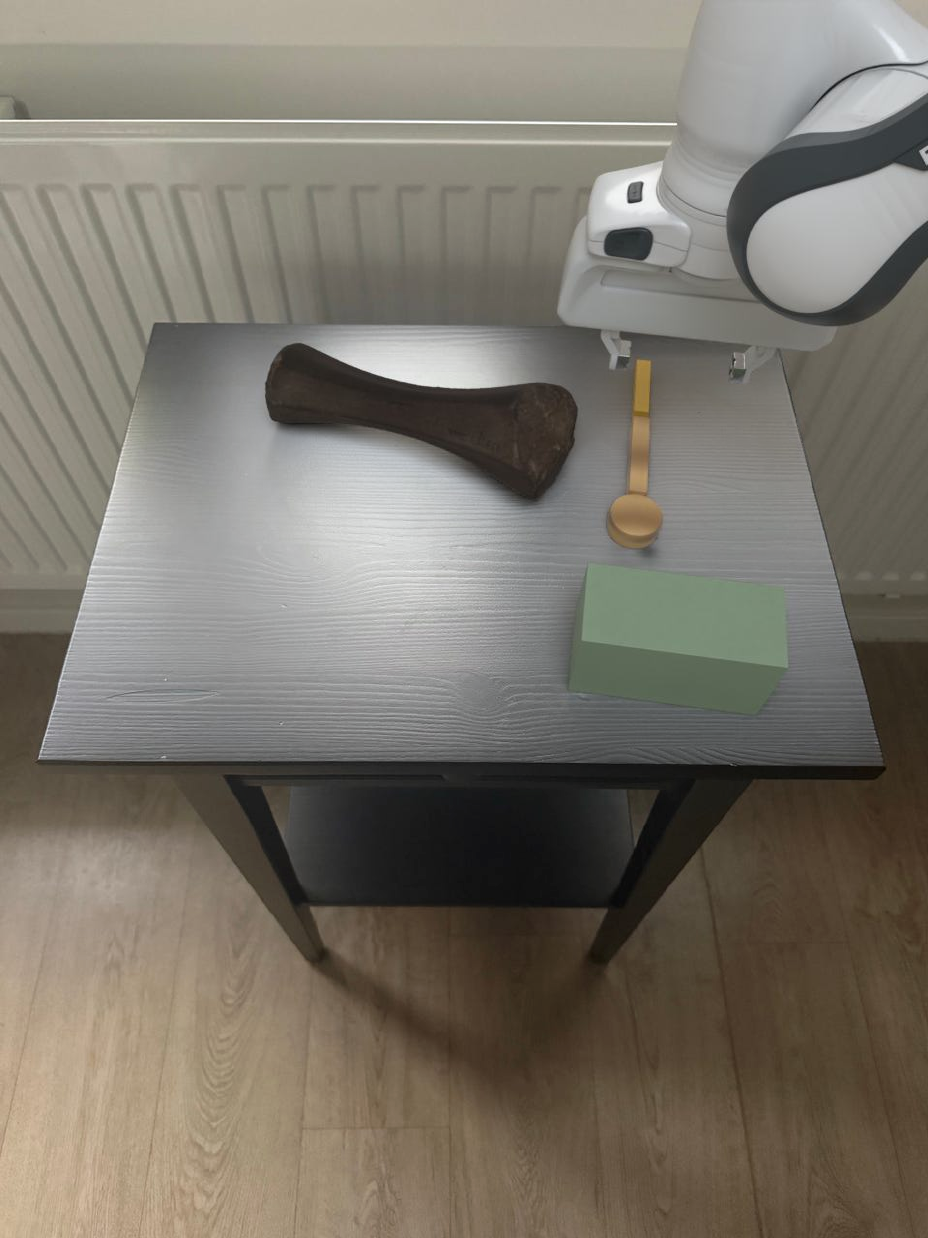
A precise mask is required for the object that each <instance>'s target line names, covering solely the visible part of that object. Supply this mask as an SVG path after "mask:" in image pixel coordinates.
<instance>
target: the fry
mask: <svg viewBox="0 0 928 1238" xmlns="http://www.w3.org/2000/svg"><path fill="white" fill-rule="evenodd" d="M651 372H652V361H651V360H647V359H646V360H645V359H636V363H635V367H634V376H633V391H632V408H631V409H632V410H631V420H632V419H633V416H639V417H647V418H649V413H650V398H651V397H650V394H651V377H652V376H651Z"/></svg>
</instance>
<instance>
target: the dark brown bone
mask: <svg viewBox="0 0 928 1238" xmlns="http://www.w3.org/2000/svg"><path fill="white" fill-rule="evenodd" d="M264 392H265V393H264V398H265V404H266V409H267V412H268V416H269V418H270V420H271V421H273V422H276V423H281V424H334V425H335V424H336V425H348V426H356V427H362V428H363V427H364V428H370V429H376V430H380V431H384V432H385V431H386V432H389V433H393V434H398V435H401V436H403V437H407V438H411V439H414V440H417V441H420V442H423V443H426V444H429V445H431V446H434V447H437V448H439V449H441V450H443V451H446V452H448V453H450V454H452V455H454V456H457V457H458V458H460V459H462V460H464V461H466V462H469V463H470V464H471V465H473V466H475V467H477V468H478V469H480V470H481V471H483V472H485V473H486V474H487V475H490V476H491V477H493V478H494V479H496V480H497V481H499V482H500V483H501V484H504V485H505V486H506V487H508V488H510V489H512V490H513V491H515V492H516V493H518V494H519V495H521V496H523V497H525V498H527V499H530V500H534V501H535V500H539V499H540V498H541V497H542V496H544V494H545V492H546V491H547V490H548V489H549V488H551V486H552V485H553V484H554V483H555V482H556V479H557V478H558V476H559V475H560V472H561V470H562V468H563V466H564V464H565V462H566V461H567V459H568V458H569V454H570V453H571V451H572V449H573V448H574V446H575V442H576V439H575V430H576V427H577V426H576V425H577V419H578V416H579V413H578V412H579V408H578V405H577V402H576V400H575V398H574V396H573V394H572V393H571V392H570V391H569V390H568V389H567V388H566V387H564V386H562V385H558V384H555V383H549V382H539V381H538V382H537V381H536V382H527V383H520V384H511V385H502V386H491V387H477V388H475V387H474V388H462V387H461V388H459V387H445V386H444V387H442V386H430V385H422V384H421V385H420V384H416V383H410V382H406V381H401V380H396V379H392V378H389V377H386V376H382V375H378V374H376V373H372V372H369V371H367V370H363V369H361V368H358V367H356V366H353V365H352V364H348V363H347V362H344V361H342V360H339V359H337V358H335V357H332V356H331V355H329V354H327V353H325V352H322V351H321V350H318V349H317V348H314V347H312V346H311V345H308V344H305V343H302V342H295V343H290V344H286V345H285V346H283V347H282V348H281V349H280V350H279V351H278V352H277V354H275V357H274V358H273V360H272V361H271V364H270V367H269V370H268V372H267V376H266V380H265V383H264Z"/></svg>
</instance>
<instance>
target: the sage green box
mask: <svg viewBox="0 0 928 1238" xmlns="http://www.w3.org/2000/svg"><path fill="white" fill-rule="evenodd" d="M573 617H574V618H573V627H572V628H573V629H572V639H571V649H570V650H571V652H570V660H569V661H570V662H569V674H568V683H567V684H568V685H567V691H570V692H576V693H577V692H578V693H586V694H593V695H598V696H599V695H600V696H608V697H615V698H622V699H629V700H637V701H645V702H651V703H659V704H668V705H674V706H682V707H688V708H696V709H704V710H709V711H710V710H711V711H718V712H725V713H734V714H741V715H747V716H748V715H749V716H757V715H758V714H759V712H760V711H761V709H762V708H763V706H764V705H765V704H766V702H767V701H768V699H769V698H770V696H771V695H772V693H773V691H774V690H775V688H776V687H777V686H778V684H779V683H780V681H781V680H782V678H783V677H784V675H785V674H786V672H787V671H788V669H789V668H790V667H789V664H790V663H789V649H788V647H789V646H788V628H787V627H788V625H787V608H786V588H785V587H781V586H775V585H774V586H773V585H767V584H766V585H765V584H759V583H750V582H743V581H736V580H727V579H721V578H720V579H719V578H711V577H704V576H696V575H688V574H680V573H673V572H665V571H657V570H651V569H642V568H633V567H625V566H619V565H610V564H603V563H595V562H587V564H586V568H585V572H584V576H583V580H582V584H581V588H580V592H579V597H578V599H577V605H576V609H575V613H574V616H573Z"/></svg>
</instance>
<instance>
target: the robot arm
mask: <svg viewBox="0 0 928 1238" xmlns="http://www.w3.org/2000/svg"><path fill="white" fill-rule="evenodd" d="M675 116H676V129H675V133H674V137H673V139H672V141H671V143H670V145H669V147H668V148H667V151H666V152H665V155H664V158H663V159H662V160H658V161H656V162H655V161H654V162H652V163H647V164H643V165H639V166H634V167H629V168H623V169H619V170H614V171H608V172H605V173H602V174H600V175H598V176H597V177H596V179H595V180H594V183H593V185H592V188H591V191H590V196H589V199H588V204H587V210H586V214H585V215H584V216H583V217H582V218H581V220H580V221H579V222H578V224H577V226H576V227H575V228H574V232H573V233H572V237H571V240H570V242H569V246H568V249H567V252H566V256H565V260H564V265H563V269H562V273H561V279H560V285H559V291H558V297H557V306H556V314H557V315H558V317H559V318H560V320H561V321H562V323H564V324H565V326H568V327H576V328H587V329H596V330H600V339H601V341H602V342H603V344H604V346H605V348H606V350H607V351H608V354H609V361H608V370H613V371H620V372H621V371H622V372H627V371H628V368H629V363H630V359H631V348H632V341H631V340H627V339H622V338H621V336H620V333H621V332H622V333H623V332H625V333H631V334H632V333H634V334H644V335H653V336H661V337H662V336H663V337H672V338H679V339H681V338H682V339H691V340H700V341H708V342H709V341H710V342H717V343H718V342H719V343H726V344H727V343H728V344H737V345H746V346H750V347H749V348H748V349H746V351H744V352H739V351H737V352H736V351H734V352H733V353H732V357H731V361H730V363H729V365H728V372H727V374H728V383H734V384H741V385H749V383H750V380H751V378H752V375H753V371H756V370H757V369H758V368H759V367H761V366H762V365H764V364H765V363H766V362H768V361H769V360H770V359H771V358H773V357H774V356H775V354H776V352H777V349H783V350H784V349H785V350H794V351H803V352H818V351H820V350H821V349H823V348H824V347H826V346H828V345H829V344H831V343H832V341H833V340H834V337H835V335H836V333H837V329H838V327H844V326H849V325H854V324H857V323H860V322H863V321H865V320H867V319H869V318H871V317H873V316H875V315H876V314H878V313H879V312H881V311H882V310H883V309H884V308H886V307H887V306H888V305H889V304H890V303H891V302H892V301H893V300H894V299H895V298H896V297H897V296H898V294H899V293H900V292H901V291H902V290H903V289H904V287H905V286H906V285H907V283H908V282H909V281H910V279H912V277H913V276H914V275H915V273H916V272H917V271H918V270H919V269H920V267H921V266H922V265H923V264H924V263H925V262H926V261H927V260H928V26H926V25H924V24H923V23H922V22H920V21H919V20H918V19H917V18H915V17H914V16H912V15H911V14H910V13H909V12H908V11H907V10H906V9H904V8H903V7H902V6H901V5H900V4H899V3H898V2H897V1H896V0H701V2H700V5H699V8H698V11H697V15H696V18H695V21H694V24H693V28H692V31H691V34H690V38H689V41H688V46H687V50H686V53H685V57H684V61H683V65H682V70H681V74H680V78H679V83H678V88H677V92H676V97H675Z"/></svg>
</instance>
